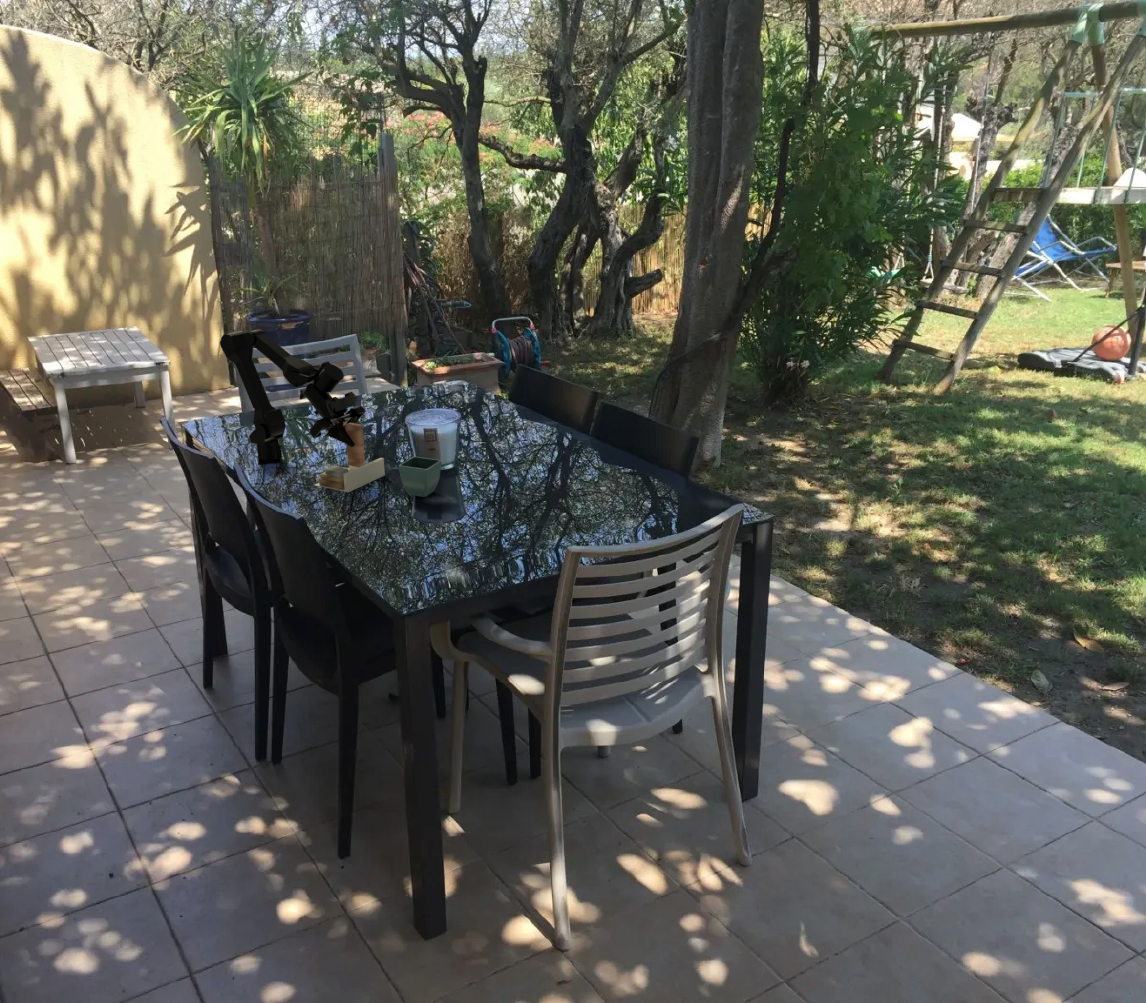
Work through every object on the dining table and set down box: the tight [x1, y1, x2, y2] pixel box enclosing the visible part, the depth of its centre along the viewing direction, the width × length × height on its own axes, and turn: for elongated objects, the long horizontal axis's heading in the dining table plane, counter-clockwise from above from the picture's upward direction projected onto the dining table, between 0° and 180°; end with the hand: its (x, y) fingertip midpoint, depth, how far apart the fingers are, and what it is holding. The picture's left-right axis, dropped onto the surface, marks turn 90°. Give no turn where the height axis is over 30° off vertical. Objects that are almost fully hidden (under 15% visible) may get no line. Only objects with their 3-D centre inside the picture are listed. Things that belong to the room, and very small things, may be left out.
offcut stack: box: [318, 465, 348, 491], centre depth 272 cm, size 8×5×5 cm, turn 63°
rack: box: [314, 457, 386, 493], centre depth 276 cm, size 12×16×6 cm
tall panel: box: [345, 423, 366, 467], centre depth 278 cm, size 4×2×12 cm, turn 63°
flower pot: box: [398, 456, 442, 498], centre depth 269 cm, size 9×9×9 cm
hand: (356, 445), depth 278 cm, fingers closed on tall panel, 2 cm apart
